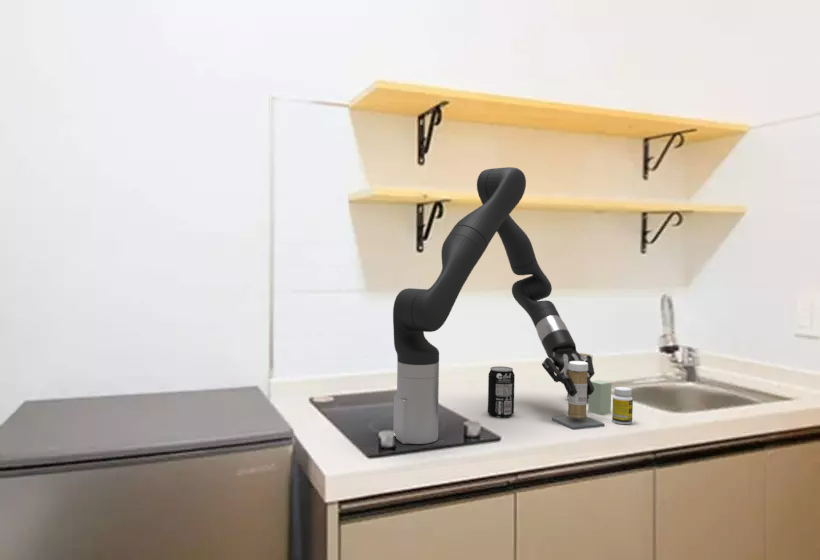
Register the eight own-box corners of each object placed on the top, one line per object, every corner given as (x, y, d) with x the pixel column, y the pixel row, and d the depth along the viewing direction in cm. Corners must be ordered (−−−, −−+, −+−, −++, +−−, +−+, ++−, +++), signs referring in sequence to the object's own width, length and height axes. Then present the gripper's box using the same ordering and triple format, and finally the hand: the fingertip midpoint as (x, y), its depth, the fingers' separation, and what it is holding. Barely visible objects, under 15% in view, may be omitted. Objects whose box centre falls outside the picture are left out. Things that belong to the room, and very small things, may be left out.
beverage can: (496, 410, 169) (497, 365, 168) (518, 414, 164) (519, 368, 164) (482, 415, 164) (483, 368, 163) (505, 419, 159) (506, 371, 159)
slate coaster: (573, 429, 151) (573, 427, 151) (551, 419, 160) (551, 417, 160) (604, 426, 155) (604, 423, 155) (581, 416, 163) (581, 414, 163)
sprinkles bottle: (583, 414, 160) (584, 360, 159) (589, 419, 155) (590, 363, 154) (565, 414, 159) (566, 360, 159) (570, 419, 155) (572, 363, 154)
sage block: (599, 414, 165) (600, 384, 165) (588, 411, 169) (588, 381, 168) (610, 413, 167) (611, 382, 167) (598, 409, 171) (599, 379, 170)
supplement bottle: (632, 425, 155) (633, 391, 155) (611, 423, 157) (612, 389, 157) (632, 420, 160) (633, 387, 159) (612, 418, 161) (613, 385, 161)
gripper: (537, 329, 160) (564, 387, 150) (584, 327, 166) (614, 383, 155) (525, 347, 166) (551, 404, 155) (571, 344, 171) (599, 400, 160)
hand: (582, 393), depth 155 cm, fingers closed on sprinkles bottle, 4 cm apart
